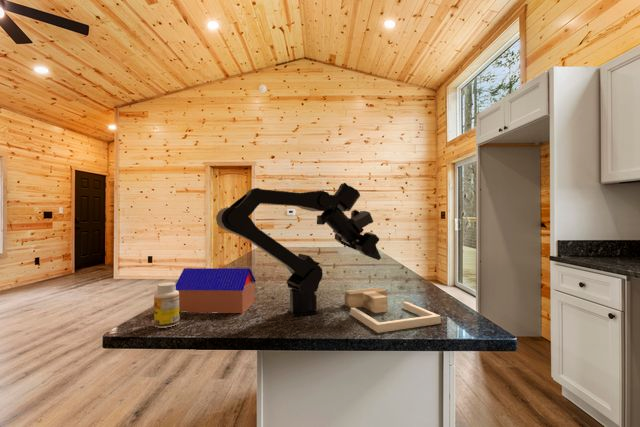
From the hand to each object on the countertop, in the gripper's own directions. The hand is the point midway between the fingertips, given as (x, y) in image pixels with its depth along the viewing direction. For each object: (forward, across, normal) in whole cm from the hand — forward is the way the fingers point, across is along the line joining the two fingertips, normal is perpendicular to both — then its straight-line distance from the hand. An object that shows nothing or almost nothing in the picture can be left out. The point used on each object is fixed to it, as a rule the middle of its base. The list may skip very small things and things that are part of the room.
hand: (371, 255), depth 100 cm
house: (-23, +10, +42) cm, 49 cm away
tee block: (+5, -8, +13) cm, 16 cm away
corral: (+4, -20, +12) cm, 23 cm away
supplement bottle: (-34, -1, +49) cm, 60 cm away
